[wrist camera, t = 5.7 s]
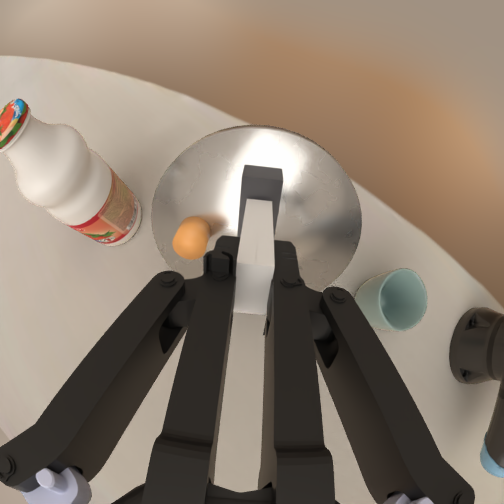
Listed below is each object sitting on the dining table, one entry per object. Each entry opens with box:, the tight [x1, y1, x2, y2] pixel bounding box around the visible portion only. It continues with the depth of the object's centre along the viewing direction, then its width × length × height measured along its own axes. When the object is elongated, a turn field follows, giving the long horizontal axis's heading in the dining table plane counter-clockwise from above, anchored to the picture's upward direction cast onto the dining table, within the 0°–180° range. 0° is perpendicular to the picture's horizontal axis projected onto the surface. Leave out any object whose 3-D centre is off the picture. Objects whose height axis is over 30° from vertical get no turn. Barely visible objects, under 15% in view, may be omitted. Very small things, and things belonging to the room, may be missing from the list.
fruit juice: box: [0, 99, 141, 246], centre depth 27 cm, size 9×9×28 cm
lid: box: [151, 125, 362, 292], centre depth 20 cm, size 16×16×3 cm
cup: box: [355, 268, 427, 332], centre depth 34 cm, size 8×8×10 cm
